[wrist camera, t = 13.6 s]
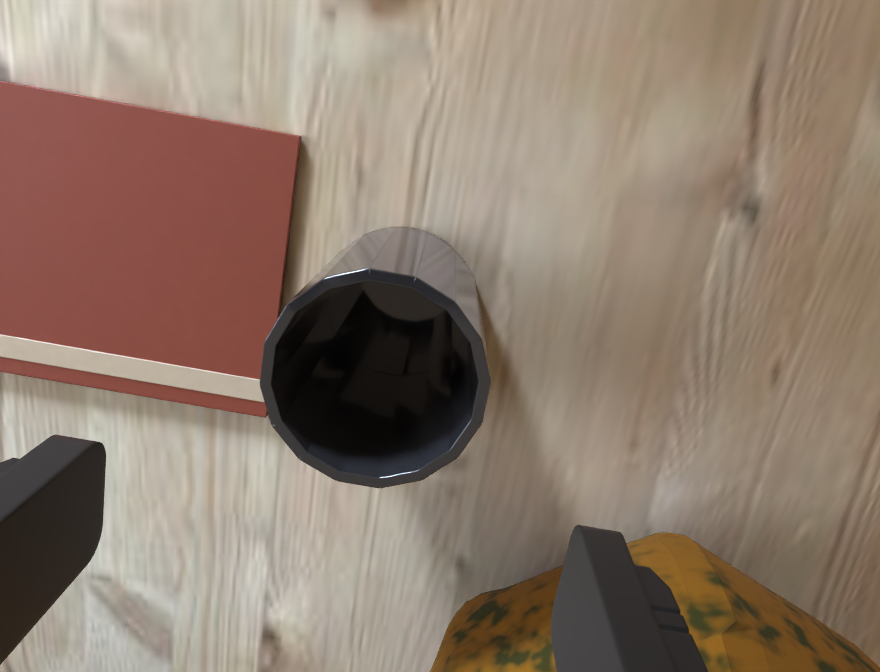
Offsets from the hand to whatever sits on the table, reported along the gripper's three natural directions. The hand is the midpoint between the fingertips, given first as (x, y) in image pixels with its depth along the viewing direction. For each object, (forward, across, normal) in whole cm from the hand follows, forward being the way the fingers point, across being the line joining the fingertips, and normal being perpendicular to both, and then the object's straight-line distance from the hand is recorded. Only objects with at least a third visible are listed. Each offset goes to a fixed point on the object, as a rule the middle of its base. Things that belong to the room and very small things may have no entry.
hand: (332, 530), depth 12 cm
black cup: (+18, 0, 0) cm, 19 cm away
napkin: (+18, +13, 0) cm, 23 cm away
